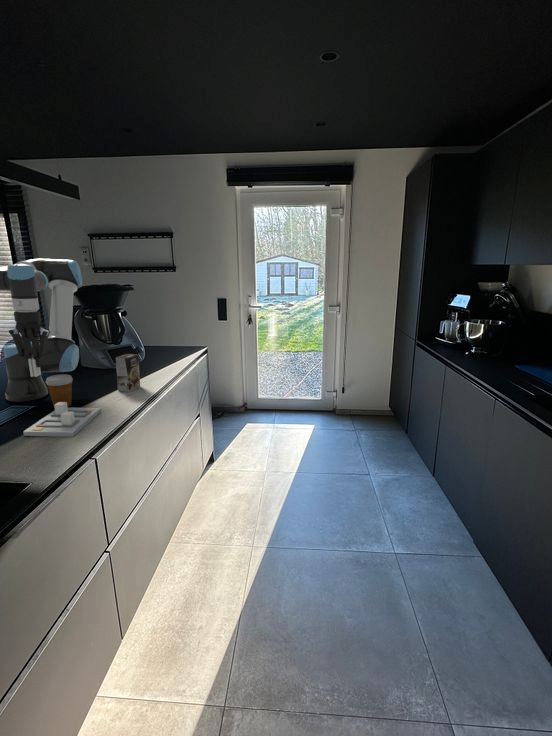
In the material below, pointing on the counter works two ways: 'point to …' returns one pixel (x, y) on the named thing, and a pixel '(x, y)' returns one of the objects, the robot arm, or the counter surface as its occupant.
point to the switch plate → (54, 426)
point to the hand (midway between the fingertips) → (36, 375)
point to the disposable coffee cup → (60, 388)
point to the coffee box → (128, 372)
